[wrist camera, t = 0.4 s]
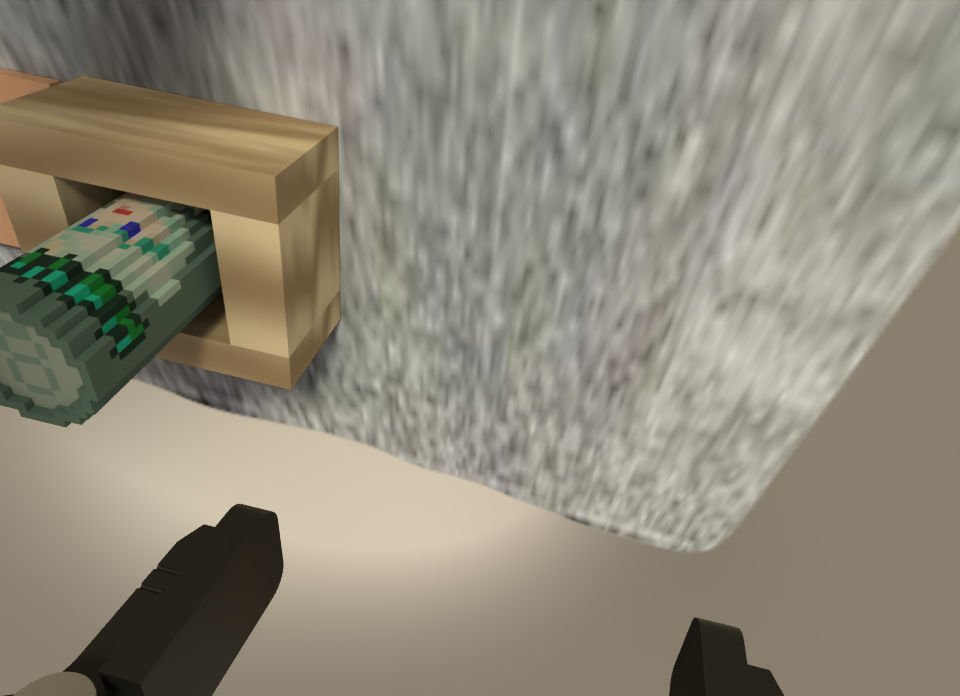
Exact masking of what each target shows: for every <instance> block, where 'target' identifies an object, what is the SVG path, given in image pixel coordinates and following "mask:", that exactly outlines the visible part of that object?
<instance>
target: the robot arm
mask: <svg viewBox="0 0 960 696" xmlns="http://www.w3.org/2000/svg"><path fill="white" fill-rule="evenodd" d="M282 573H283V555H282V548H281V540H280V532H279V525H278V518H277V515H276V514H275V513H274V512H272V511H268V510H263V509H260V508H255V507H251V506H247V505H243V504H236V505H234V506H233V507H232V508H231V509H230V510H229V511H228V512H227V513H226V514H225V516H224V517H223V518H222V519H221V521H220V522H219V523H218V524H217V525H216V527H212V526H208V525H202V526H201V527H199V528H198V529H196V530H195V531H193V532H192V533H190V534H188V535H187V536H185V537H184V538H182V539H181V540H180V541H178V542H177V543H176V544H175V545H174V546H173V547H172V549H171V550H170V551H169V552H168V553H167V554H166V556H165V557H164V558H163V559H162V560H161V561H160V563H159V564H158V567H157V569H153V571H152V572H151V573H150V574H149V575H148V576H147V578H146V579H145V580H144V581H143V582H142V585H141V587H140V588H137V589H136V590H135V592H134V593H133V594H132V595H131V596H130V597H129V599H128V600H127V601H126V602H125V603H124V605H123V606H122V607H121V608H120V609H119V610H118V611H117V612H116V614H115V615H114V616H113V617H112V618H111V620H110V621H109V622H108V623H107V624H106V625H105V627H104V628H103V629H102V630H101V631H100V632H99V633H98V635H97V636H96V637H95V638H94V639H93V640H92V641H91V643H90V644H89V645H88V646H87V647H86V648H85V650H84V651H83V652H82V653H81V654H80V655H79V657H78V658H77V659H76V660H75V661H74V662H73V663H72V664H71V665H70V666H69V667H68V668H66V669H65V670H64V671H63V672H59V673H55V674H50V675H48V676H45V677H42V678H40V679H38V680H35V681H34V682H32V683H30V684H28V685H27V686H25V687H24V688H22V689H21V690H20V691H18V692H17V693H16V694H13V695H6V696H212V694H213V693H214V691H215V690H216V688H217V686H218V685H219V683H220V682H221V680H222V678H223V677H224V675H225V674H226V672H227V670H228V669H229V667H230V666H231V664H232V662H233V661H234V659H235V658H236V656H237V654H238V653H239V651H240V649H241V648H242V646H243V645H244V643H245V641H246V640H247V638H248V637H249V635H250V633H251V632H252V630H253V628H254V627H255V625H256V624H257V622H258V621H259V619H260V617H261V616H262V614H263V613H264V611H265V609H266V608H267V606H268V605H269V603H270V601H271V600H272V598H273V596H274V595H275V593H276V590H277V589H278V586H279V583H280V581H281V577H282ZM669 696H784V695H783V693H782V691H781V689H780V688H779V686H778V684H777V682H776V680H775V679H774V677H773V675H772V673H771V672H770V670H767V669H763V668H759V667H756V666H752V665H748V664H747V659H746V652H745V645H744V639H743V635H742V632H741V630H740V629H739V628H736V627H732V626H729V625H725V624H721V623H716V622H712V621H708V620H704V619H700V618H694V619H693V621H692V623H691V625H690V628H689V630H688V632H687V635H686V637H685V640H684V642H683V645H682V648H681V650H680V652H679V655H678V657H677V660H676V662H675V665H674V668H673V672H672V677H671V683H670V693H669Z"/></svg>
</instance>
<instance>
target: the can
mask: <svg viewBox="0 0 960 696" xmlns="http://www.w3.org/2000/svg"><path fill="white" fill-rule="evenodd" d="M221 292H222V285H221V278H220V272H219V265H218V259H217V252H216V245H215V239H214V232H213V225H212V219H211V212H210V210H208V209H204V208H199V207H194V206H190V205H185V204H180V203H176V202H171V201H167V200H162V199H157V198H153V197H148V196H143V195H139V194H134V193H130V192H127V193H125V194H124V195H122V196H120V197H118V198H117V199H115V200H113V201H112V202H110V203H108V204H107V205H105V206H103V207H102V208H100V209H98V210H97V211H95V212H93V213H92V214H90V215H88V216H86V217H85V218H83V219H81V220H80V221H78V222H76V223H75V224H73V225H71V226H70V227H68V228H66V229H65V230H63V231H61V232H60V233H58V234H56V235H54V236H53V237H51V238H49V239H48V240H46V241H44V242H43V243H41V244H39V245H38V246H36V247H34V248H33V249H31V250H29V251H28V252H26V253H24V254H22V255H21V256H19V257H17V258H16V259H14V260H12V261H11V262H9V263H7V264H6V265H4V266H2V267H1V268H0V405H2V406H6V407H10V408H14V409H18V410H19V412H20V414H21V416H22V417H26V418H30V419H34V420H38V421H42V422H46V423H50V424H54V425H58V426H63V427H67V426H68V425H69V424H70V423H71V422H72V423H76V424H81V425H82V424H83V423H84V422H85V421H86V420H88V419H89V418H90V417H91V416H92V415H95V414H96V413H97V412H98V411H99V410H100V409H101V408H102V407H103V406H104V405H105V404H106V403H107V402H108V401H109V400H110V399H111V398H112V397H113V396H114V395H116V394H117V392H119V391H120V390H121V389H122V388H123V387H124V386H125V385H126V384H127V383H128V382H129V381H130V380H131V379H132V378H133V377H134V376H135V375H136V374H137V373H138V372H139V371H140V370H141V369H142V368H143V367H144V366H145V365H146V364H147V363H148V362H150V361H151V360H152V359H153V358H154V357H155V356H156V355H157V354H158V353H159V352H160V351H161V350H162V349H163V348H164V347H165V346H166V345H167V344H168V343H169V342H170V341H171V340H172V339H173V338H174V337H175V336H176V335H177V334H178V333H179V332H180V331H181V330H182V329H183V328H185V327H186V326H187V325H188V324H189V323H190V322H191V321H192V320H193V319H194V318H195V317H196V316H197V315H198V314H199V313H200V312H201V311H202V310H203V309H204V308H205V307H206V306H207V305H208V304H209V303H210V302H211V301H212V300H213V299H214V298H215V297H216V296H217V295H218V294H220V293H221Z"/></svg>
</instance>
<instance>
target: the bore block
mask: <svg viewBox="0 0 960 696" xmlns="http://www.w3.org/2000/svg"><path fill="white" fill-rule="evenodd" d="M127 192H130V193H134V194H139V195H143V196H148V197H153V198H157V199H162V200H167V201H171V202H176V203H180V204H185V205H190V206H194V207H199V208H204V209H208V210H210V212H211V219H212V225H213V232H214V239H215V245H216V252H217V259H218V265H219V272H220V278H221V285H222V292H221V293H220V294H218V295H217V296H216V297H215V298H214V299H213V300H212V301H211V302H210V303H209V304H208V305H207V306H206V307H205V308H204V309H203V310H202V311H201V312H200V313H199V314H198V315H197V316H196V317H195V318H194V319H193V320H192V321H191V322H190V323H189V324H188V325H187V326H186V327H185V328H183V329H182V330H181V331H180V332H179V333H178V334H177V335H176V336H175V337H174V338H173V339H172V340H171V341H170V342H169V343H168V344H167V345H166V346H165V347H164V348H163V349H162V350H161V351H160V352H159V353H158V354H157V355H156V356H155V358H159V359H164V360H168V361H172V362H176V363H180V364H185V365H189V366H193V367H197V368H201V369H206V370H210V371H214V372H218V373H222V374H227V375H231V376H235V377H239V378H243V379H248V380H252V381H256V382H260V383H264V384H269V385H273V386H277V387H281V388H285V389H290V390H292V388H293V387H294V386H295V384H296V383H297V381H298V380H299V378H300V377H301V375H302V374H303V372H304V371H305V370H306V368H307V367H308V365H309V364H310V362H311V361H312V359H313V358H314V356H315V355H316V354H317V352H318V351H319V349H320V348H321V346H322V345H323V343H324V342H325V340H326V339H327V338H328V336H329V335H330V333H331V332H332V330H333V329H334V327H335V326H336V324H337V323H338V322H339V320H340V248H339V168H338V127H336V126H331V125H326V124H321V123H316V122H311V121H306V120H301V119H296V118H291V117H286V116H281V115H276V114H271V113H266V112H261V111H256V110H251V109H246V108H241V107H236V106H232V105H227V104H222V103H217V102H212V101H207V100H202V99H197V98H192V97H187V96H182V95H177V94H172V93H167V92H162V91H157V90H152V89H147V88H142V87H137V86H132V85H127V84H122V83H117V82H112V81H107V80H102V79H97V78H92V77H87V76H82V77H78V78H75V79H72V80H69V81H66V82H63V83H60V84H57V85H54V86H51V87H48V88H45V89H42V90H39V91H36V92H33V93H30V94H27V95H24V96H21V97H18V98H15V99H12V100H9V101H6V102H3V103H0V194H1V196H2V199H3V202H4V205H5V207H6V210H7V213H8V215H9V218H10V221H11V223H12V226H13V229H14V232H15V234H16V237H17V240H18V242H19V245H20V248H21V250H22V253H23V254H24V253H26V252H28V251H29V250H31V249H33V248H34V247H36V246H38V245H39V244H41V243H43V242H44V241H46V240H48V239H49V238H51V237H53V236H54V235H56V234H58V233H60V232H61V231H63V230H65V229H66V228H68V227H70V226H71V225H73V224H75V223H76V222H78V221H80V220H81V219H83V218H85V217H86V216H88V215H90V214H92V213H93V212H95V211H97V210H98V209H100V208H102V207H103V206H105V205H107V204H108V203H110V202H112V201H113V200H115V199H117V198H118V197H120V196H122V195H124V194H125V193H127Z"/></svg>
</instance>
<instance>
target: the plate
mask: <svg viewBox="0 0 960 696" xmlns="http://www.w3.org/2000/svg"><path fill="white" fill-rule="evenodd" d="M60 83H61V81H60V80H56V79H51V78H46V77H41V76H36V75H31V74H26V73H21V72H16V71H11V70H6V69H2V68H0V103H3V102H6V101H9V100H12V99H15V98H18V97H21V96H24V95H27V94H30V93H33V92H36V91H39V90H42V89H45V88H48V87H51V86H54V85H57V84H60ZM0 243H2V244H6V245H11V246H15V247H19V248H20V245H19V242H18V240H17V237H16V234H15V232H14V229H13V226H12V223H11V221H10V218H9V215H8V213H7V210H6V207H5V205H4V202H3V199H2V196H1V194H0Z"/></svg>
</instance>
